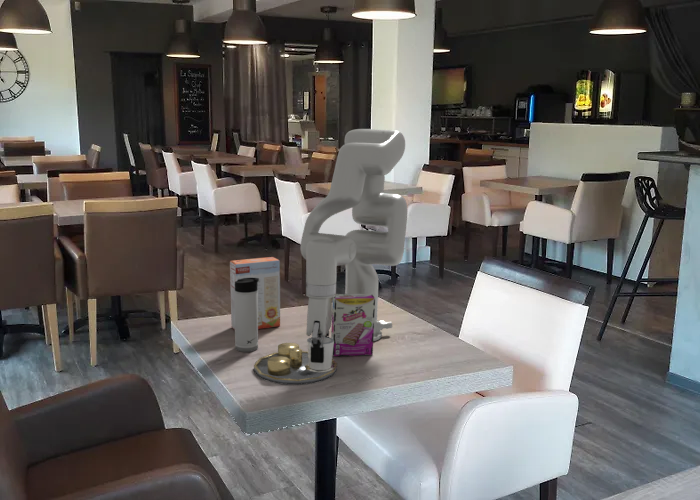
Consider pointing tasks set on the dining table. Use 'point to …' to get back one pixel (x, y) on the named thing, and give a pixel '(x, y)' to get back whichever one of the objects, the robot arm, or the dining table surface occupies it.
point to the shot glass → (328, 353)
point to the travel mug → (246, 314)
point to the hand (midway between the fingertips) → (320, 356)
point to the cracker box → (259, 288)
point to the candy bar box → (353, 324)
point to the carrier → (290, 367)
